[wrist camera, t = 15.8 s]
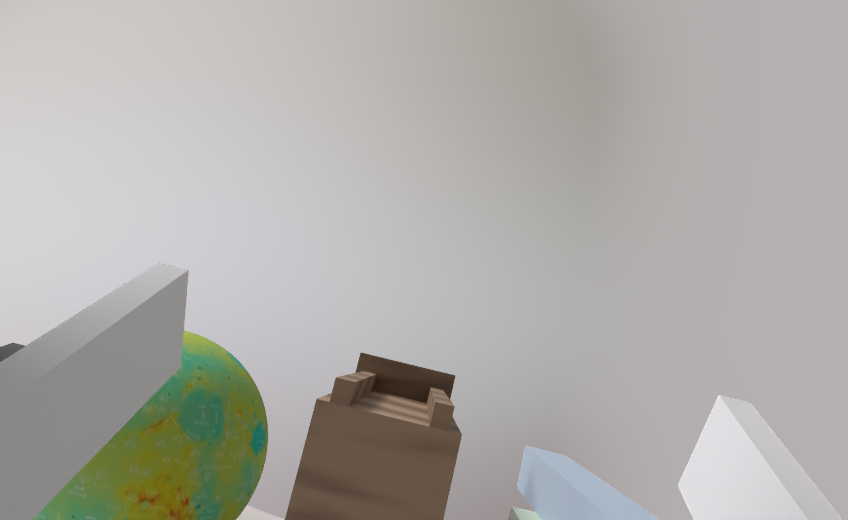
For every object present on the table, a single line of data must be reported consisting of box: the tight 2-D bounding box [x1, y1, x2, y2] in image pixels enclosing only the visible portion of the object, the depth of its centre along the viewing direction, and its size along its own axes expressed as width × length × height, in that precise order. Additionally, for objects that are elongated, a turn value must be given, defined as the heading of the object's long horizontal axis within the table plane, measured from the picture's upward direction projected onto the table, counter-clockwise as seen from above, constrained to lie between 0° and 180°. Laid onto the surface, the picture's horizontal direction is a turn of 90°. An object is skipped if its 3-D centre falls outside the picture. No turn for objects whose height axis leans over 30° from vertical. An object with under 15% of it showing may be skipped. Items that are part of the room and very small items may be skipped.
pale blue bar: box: [517, 445, 660, 520], centre depth 43 cm, size 28×4×4 cm, turn 0°
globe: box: [32, 331, 268, 520], centre depth 75 cm, size 30×30×30 cm
